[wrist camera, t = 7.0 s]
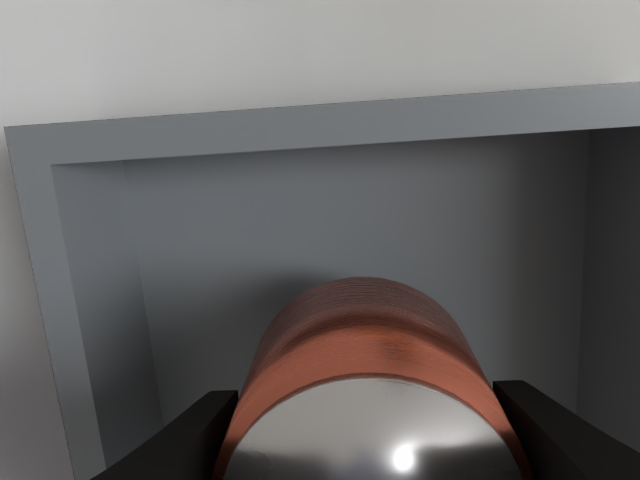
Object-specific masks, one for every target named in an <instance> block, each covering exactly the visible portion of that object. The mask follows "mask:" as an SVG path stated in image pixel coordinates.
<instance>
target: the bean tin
mask: <svg viewBox="0 0 640 480" xmlns="http://www.w3.org/2000/svg"><path fill="white" fill-rule="evenodd" d="M212 480H534V479H533V475H532V472H531V468H530V464H529V461H528V458H527V456H526V454H525V452H524V449H523V447H522V445H521V443H520V441H519V439H518V437H517V435H516V433H515V431H514V429H513V427H512V425H511V424H510V422H509V420H508V418H507V416H506V414H505V412H504V410H503V408H502V406H501V404H500V403H499V401H498V399H497V397H496V395H495V393H494V391H493V389H492V387H491V385H490V383H489V382H488V380H487V378H486V376H485V374H484V372H483V370H482V368H481V366H480V364H479V362H478V361H477V359H476V357H475V355H474V353H473V351H472V349H471V347H470V345H469V343H468V341H467V340H466V338H465V336H464V334H463V332H462V331H461V329H460V327H459V326H458V324H457V323H456V321H455V320H454V319H453V318H452V317H451V315H450V314H449V313H448V312H447V311H446V310H445V309H444V308H443V307H442V306H441V305H440V304H438V303H437V302H436V301H435V300H433V299H432V298H430V297H429V296H428V295H426V294H425V293H423V292H421V291H419V290H417V289H415V288H413V287H411V286H409V285H406V284H403V283H400V282H397V281H393V280H389V279H384V278H376V277H349V278H343V279H336V280H333V281H330V282H326V283H323V284H320V285H318V286H316V287H313V288H311V289H309V290H307V291H305V292H304V293H302V294H300V295H299V296H297V297H295V298H294V299H293V300H292V301H290V302H289V303H288V304H287V305H285V306H284V307H283V308H282V309H281V310H280V312H279V313H278V314H277V315H276V316H275V317H274V318H273V320H272V321H271V322H270V324H269V325H268V327H267V328H266V330H265V332H264V334H263V336H262V338H261V340H260V342H259V345H258V348H257V350H256V353H255V356H254V359H253V361H252V364H251V367H250V370H249V372H248V375H247V378H246V381H245V383H244V386H243V389H242V391H241V394H240V397H239V400H238V402H237V405H236V408H235V411H234V413H233V416H232V419H231V422H230V424H229V427H228V430H227V433H226V435H225V438H224V441H223V443H222V446H221V449H220V452H219V455H218V457H217V460H216V463H215V466H214V471H213V476H212Z"/></svg>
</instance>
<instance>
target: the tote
mask: <svg viewBox="0 0 640 480" xmlns="http://www.w3.org/2000/svg"><path fill="white" fill-rule="evenodd" d="M4 131H5V136H6V141H7V146H8V151H9V156H10V161H11V166H12V171H13V176H14V181H15V185H16V190H17V195H18V200H19V205H20V210H21V215H22V220H23V225H24V230H25V235H26V240H27V245H28V250H29V255H30V260H31V265H32V270H33V275H34V280H35V285H36V290H37V295H38V300H39V305H40V310H41V315H42V320H43V325H44V330H45V335H46V340H47V344H48V349H49V354H50V359H51V364H52V369H53V374H54V379H55V384H56V389H57V394H58V399H59V404H60V409H61V414H62V419H63V424H64V429H65V434H66V439H67V444H68V449H69V454H70V459H71V464H72V469H73V474H74V479H75V480H90V479H91V478H93V477H95V476H96V475H98V474H100V473H101V472H103V471H104V470H106V469H107V468H109V467H111V466H112V465H114V464H115V463H117V462H118V461H119V460H121V459H122V458H124V457H125V456H126V455H128V454H129V453H130V452H132V451H133V450H135V449H136V448H137V447H139V446H140V445H142V444H143V443H144V442H146V441H147V440H148V439H150V438H151V437H153V436H154V435H155V434H156V433H158V432H159V431H160V430H161V429H163V428H164V427H165V426H166V425H168V424H169V423H170V422H171V421H173V420H174V419H175V418H176V417H178V416H179V415H180V414H181V413H183V412H184V411H185V410H186V409H188V408H189V407H190V406H191V405H192V404H194V403H195V402H196V401H197V400H199V399H200V398H201V397H203V396H204V395H205V394H207V393H208V392H210V391H220V390H238V396H239V397H240V394H241V391H242V389H243V386H244V383H245V381H246V378H247V375H248V372H249V370H250V367H251V364H252V361H253V359H254V356H255V353H256V350H257V348H258V345H259V342H260V340H261V338H262V336H263V334H264V332H265V330H266V328H267V327H268V325H269V324H270V322H271V321H272V320H273V318H274V317H275V316H276V315H277V314H278V313H279V312H280V310H281V309H282V308H283V307H284V306H285V305H287V304H288V303H289V302H290V301H292V300H293V299H294V298H295V297H297V296H299V295H300V294H302V293H304V292H305V291H307V290H309V289H311V288H313V287H316V286H318V285H320V284H323V283H326V282H330V281H333V280H336V279H343V278H349V277H376V278H384V279H389V280H393V281H397V282H400V283H403V284H406V285H409V286H411V287H413V288H415V289H417V290H419V291H421V292H423V293H425V294H426V295H428V296H429V297H430V298H432V299H433V300H435V301H436V302H437V303H438V304H440V305H441V306H442V307H443V308H444V309H445V310H446V311H447V312H448V313H449V314H450V315H451V317H452V318H453V319H454V320H455V321H456V323H457V324H458V326H459V327H460V329H461V331H462V332H463V334H464V336H465V338H466V340H467V341H468V343H469V345H470V347H471V349H472V351H473V353H474V355H475V357H476V359H477V361H478V362H479V364H480V366H481V368H482V370H483V372H484V374H485V376H486V378H487V380H488V382H489V383H490V385H491V387H492V389H493V381H506V380H523V381H525V382H527V383H528V384H530V385H532V386H533V387H535V388H536V389H538V390H539V391H541V392H542V393H544V394H545V395H547V396H548V397H550V398H551V399H553V400H554V401H556V402H557V403H559V404H560V405H562V406H563V407H565V408H566V409H568V410H569V411H571V412H573V413H574V414H576V415H577V416H579V417H580V418H582V419H583V420H585V421H586V422H588V423H590V424H591V425H593V426H594V427H596V428H598V429H599V430H601V431H603V432H604V433H606V434H608V435H609V436H611V437H613V438H615V439H616V440H618V441H620V442H622V443H623V444H625V445H627V446H629V447H630V448H632V449H634V450H636V451H637V452H639V453H640V82H627V83H612V84H598V85H584V86H570V87H556V88H542V89H528V90H514V91H500V92H486V93H472V94H458V95H444V96H430V97H416V98H402V99H388V100H374V101H360V102H346V103H332V104H318V105H304V106H290V107H276V108H262V109H248V110H234V111H220V112H206V113H191V114H177V115H163V116H149V117H135V118H121V119H107V120H93V121H79V122H65V123H51V124H37V125H23V126H9V127H4Z"/></svg>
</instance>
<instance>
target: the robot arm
mask: <svg viewBox="0 0 640 480" xmlns="http://www.w3.org/2000/svg"><path fill="white" fill-rule="evenodd" d="M493 391H494V393H495V395H496V397H497V399H498V401H499V403H500V404H501V406H502V408H503V410H504V412H505V414H506V416H507V418H508V420H509V422H510V424H511V425H512V427H513V429H514V431H515V433H516V435H517V437H518V439H519V441H520V443H521V445H522V447H523V449H524V452H525V454H526V456H527V458H528V461H529V464H530V468H531V472H532V475H533V479H534V480H640V453H639V452H637V451H636V450H634V449H632V448H630V447H629V446H627V445H625V444H623V443H622V442H620V441H618V440H616V439H615V438H613V437H611V436H609V435H608V434H606V433H604V432H603V431H601V430H599V429H598V428H596V427H594V426H593V425H591V424H590V423H588V422H586V421H585V420H583V419H582V418H580V417H579V416H577V415H576V414H574V413H573V412H571V411H569V410H568V409H566V408H565V407H563V406H562V405H560V404H559V403H557V402H556V401H554V400H553V399H551V398H550V397H548V396H547V395H545V394H544V393H542V392H541V391H539V390H538V389H536V388H535V387H533V386H532V385H530V384H528V383H527V382H525V381H523V380H506V381H493ZM238 400H239V396H238V390H220V391H210V392H208V393H207V394H205V395H204V396H203V397H201V398H200V399H199V400H197V401H196V402H195V403H194V404H192V405H191V406H190V407H189V408H188V409H186V410H185V411H184V412H183V413H181V414H180V415H179V416H178V417H176V418H175V419H174V420H173V421H171V422H170V423H169V424H168V425H166V426H165V427H164V428H163V429H161V430H160V431H159V432H158V433H156V434H155V435H154V436H153V437H151V438H150V439H148V440H147V441H146V442H144V443H143V444H142V445H140V446H139V447H137V448H136V449H135V450H133V451H132V452H130V453H129V454H128V455H126V456H125V457H124V458H122V459H121V460H119V461H118V462H117V463H115V464H114V465H112V466H111V467H109V468H107V469H106V470H104V471H103V472H101V473H100V474H98V475H96V476H95V477H93V478H91V479H90V480H212V476H213V471H214V466H215V463H216V460H217V457H218V455H219V452H220V449H221V446H222V443H223V441H224V438H225V435H226V433H227V430H228V427H229V424H230V422H231V419H232V416H233V413H234V411H235V408H236V405H237V402H238Z"/></svg>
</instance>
